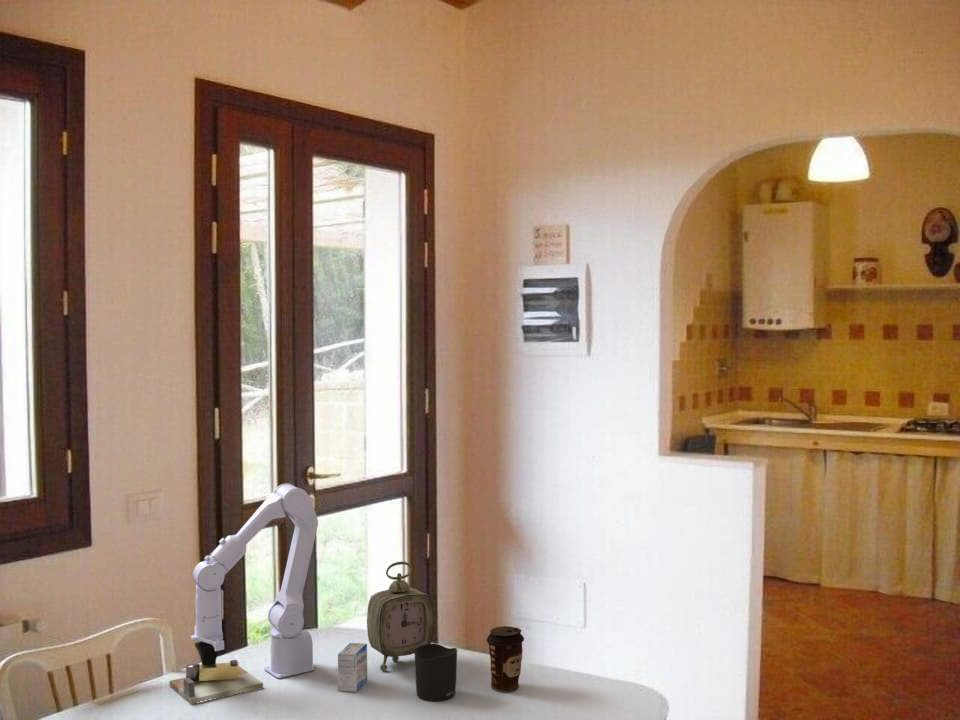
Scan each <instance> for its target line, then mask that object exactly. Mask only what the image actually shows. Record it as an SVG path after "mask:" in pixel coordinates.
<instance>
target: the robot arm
mask: <svg viewBox="0 0 960 720" xmlns="http://www.w3.org/2000/svg"><path fill="white" fill-rule="evenodd" d="M313 502H314V500H313V498H312V497H311V496H310V495H309V494H308V493H307V491H306V490H304V489H303V488H299V487H296V486H295V485H293V484H291V483H288V482H287V483H282V484H279V486H277V487H276V488H275V490H274V491H273V492H271V493H269V495H267V497H266V498H265V499H264V501H263V503H262V504H261V505H260V506H259V507H258V508H257V509H256V511H255V512H254V513H253V514H252V516H250V517H249V519H248V520H247V521H246V522H245V523H244V525H242V527H241V528H240V529H239V530H238V531H237V533H236V534H232V535H227V536H226V537H225V538H224V537H222V538H221V539H220V540H219V541H218V542H219V544H218V545H217V547H215V549H213V551H212V552H210V554H209V555H206V556H205V557H204V559H203V561H200V562H199V563H197V564H196V565H195V567H194V569H193V572H192V573H191V578H192V579H193V581H194V582H195V596H194V598H195V608H194V609H195V625H194V626H193V628H194V629H193V630H194V631H193V632H194V634H192V635H190V640H191V641H196V642H195V643H194V647H195V648H196V650H197V652H198V655H199V657H200V661H201V665H206V664H217V658H218V654H219V653H220V651H224V650H225V640H223V639H224V633H223V630H222V629H223V628H222V626H223V624H222V623H223V622H222V621H223V620H222V615H223V614H222V593H221V592H222V587H221V586H222V585H223V583H224V580H225V576H226V574H227V573H228V572H230V571H231V569H232V568H233V567H234V566H235V565H236V564H237V563H238V562H239V561H240V559H242V558H243V556H245V554H246V553H247V547H248V546H247V545H248V543H249V542H251V540H252V539H253V538H255V537H256V536H257V535H258V534H259V532H261V530H263V529H264V528H265V527H266V526H267V525H268V524H269V523H270V522H272V520H275V519H276V520H277V519H282V518H286V517H287V516H288V517H289V519H290V520H291V522H292V523H293V524H294V531H293V534H292V538H291V539H292V540H291V543H290V547H289V548H290V549H289V553H288V556H287V561H286V566H285V570H284V574H283V579H282V583H281V587H280V590H279V591H278V593H277V594H276V595H275V599H274V602H273V604H272V606H270V608H269V609H268V613H267V619H268V622H269V624H270V625H271V626H272V629H271V631H270V665H269V666H265V667H264V669H263V670H265V671H266V672H268V673H269V674H270V675H272V676H274V677H275V678H276V679H282V678H286V677H291V676H295V675H298V674H303V673H309V672H312V671H315V668H314V665H313V664H314V663H313V662H314V656H313V655H314V654H313V653H314V652H313V647H314V645H313V643H314V642H313V638H312V635H311V633H310V632H309V631H308V630H307V629H303V628H304V626H305V619H304V608H305V606H304V599H303V595H304V594H303V593H304V588H305V584H306V581H307V580H306V579H307V576H308V575H307V574H308V570H309V565H310V562H311V558H312V557H311V556H312V552H313V549H314V544H315V540H316V535H317V531H318V528H319V527H318V526H319V519H318V517H317V513H316V510H315V508H314V503H313ZM286 514H287V515H286ZM197 641H198V642H197Z"/></svg>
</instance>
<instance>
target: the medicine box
mask: <svg viewBox="0 0 960 720" xmlns="http://www.w3.org/2000/svg"><path fill="white" fill-rule="evenodd" d="M367 681H368V644H367V643H362V642H361V643H360V642H349V643H348V644H347V645H346V646H345V647H344V648H343V649H342V650H341V651H340V652H339V653H337V682H338V683H337V684H338V685H337V686H338V689H337V690H338V691H339V692H347V693H348V692H349V693H358V691H359V690H360V689H361V687H362V686H363V685H364V684H365V683H366V682H367Z"/></svg>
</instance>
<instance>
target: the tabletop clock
mask: <svg viewBox="0 0 960 720" xmlns="http://www.w3.org/2000/svg"><path fill="white" fill-rule="evenodd" d="M399 565H405V566H407V567H409V569H410V571H409V572H408V573H405V575H404V574H403V575H402V573H400V572H398V573H397V574H396V576H390V575H389V573H388V572H389V571H390V570H391V569H392V568H394V567H395V566H399ZM412 572H413V567H412V564H410V562H406V561H395V562H393V563H392V564H390V565H389V566H388V567H387V568H386V571H385V575H386V577H387V578H388V579H390V580H392V582H391V584H389V587H388V589H385V590H381V591H378V592H376V593H374V594H372V595H371V596H370V597H369V601H368V603H367V614H366V627H367V628H366V629H367V630H366V631H367V632H366V633H367V638H368V642H369V645H370V647H371V648H372V649H374V650H376V651H377V652H378V653H380V654H381V655H383V663H382V664H380V666H379V668H380V671H382V672H385V671H387V669H388V666H387V664H386V663H387V661H388V658H389V657H390V658H392V659H391V661H393V662H394V663H397V662H398V661H399V660H400V658H399V657H403V656H410V655H415V649H416V648H417V647H419V646H421V645H425V644H432V642H433V638H434V627H435V625H434V623H435V619H434V618H435V616H434V607H433V602H432V599H431V596H430V595H428V594H426V593H424V592H422V591H421V590H419V589H416V588H414V587H410V585H409V583H408V582H407V581H406V580H404V579H406V578H408V577H409V576H410V575H411V574H412Z"/></svg>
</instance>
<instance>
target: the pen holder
mask: <svg viewBox="0 0 960 720" xmlns="http://www.w3.org/2000/svg"><path fill="white" fill-rule="evenodd" d="M457 662H458V648H456V647H452V648H451V647H450V648H449V647H446V646H443V645H441V644H438V643H431V644H425V645H421V646H419V647H417V648H416V649H415V653H414V667H415V668H414V669H415V689H416V691H415V692H416V696H417V697H418V698H419V699H420V700H423V701H425V702H444V701H448V700H451V699H452V698H454V696H455V695H456V691H457V690H456V689H457V665H458V664H457Z"/></svg>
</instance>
